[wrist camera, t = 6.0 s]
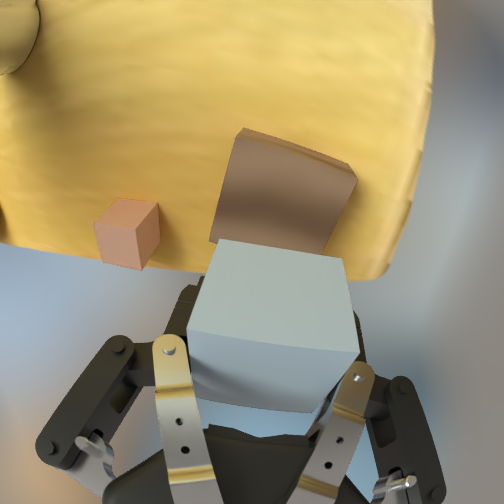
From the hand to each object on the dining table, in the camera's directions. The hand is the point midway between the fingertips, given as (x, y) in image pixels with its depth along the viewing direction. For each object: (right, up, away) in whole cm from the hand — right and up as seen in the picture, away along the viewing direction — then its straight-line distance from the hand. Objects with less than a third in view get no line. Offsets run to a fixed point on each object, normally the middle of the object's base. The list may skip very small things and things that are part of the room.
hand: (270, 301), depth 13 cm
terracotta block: (-12, +6, +14) cm, 19 cm away
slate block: (0, 0, +1) cm, 1 cm away
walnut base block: (+2, +8, +11) cm, 13 cm away
